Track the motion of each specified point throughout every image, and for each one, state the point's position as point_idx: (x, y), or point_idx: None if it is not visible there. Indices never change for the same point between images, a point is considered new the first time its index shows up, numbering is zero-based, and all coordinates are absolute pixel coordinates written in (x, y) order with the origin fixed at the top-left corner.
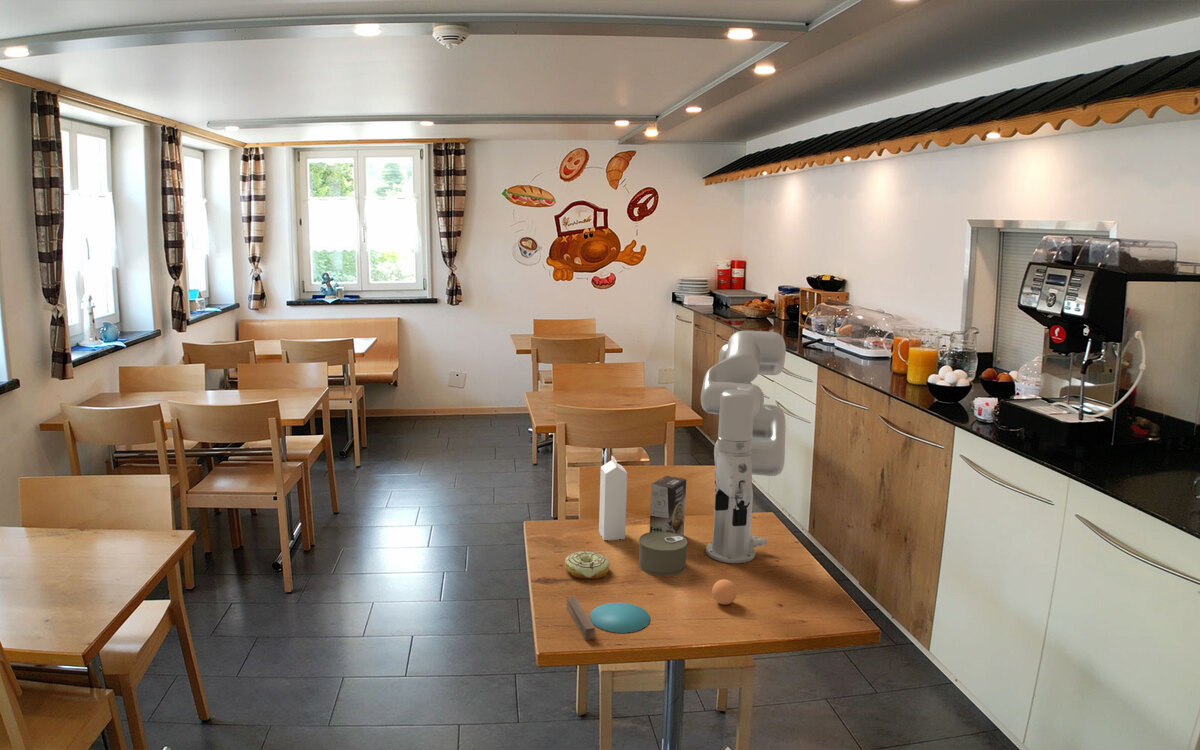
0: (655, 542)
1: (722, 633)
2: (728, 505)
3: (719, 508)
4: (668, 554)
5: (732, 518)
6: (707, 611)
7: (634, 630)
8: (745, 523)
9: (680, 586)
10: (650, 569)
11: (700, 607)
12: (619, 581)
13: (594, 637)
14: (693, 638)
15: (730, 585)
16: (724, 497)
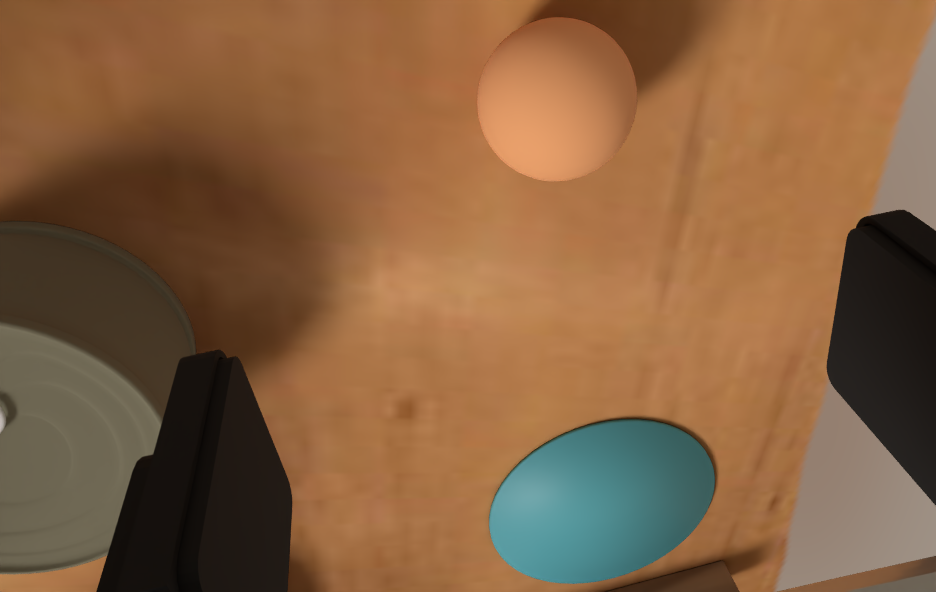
0: (14, 490)
1: (830, 152)
2: (204, 388)
3: (275, 480)
4: None
5: (895, 446)
6: (613, 184)
7: (710, 468)
8: (907, 227)
9: (322, 278)
10: None
11: (566, 211)
12: None
13: (725, 565)
14: (824, 279)
15: (617, 95)
16: (240, 589)
